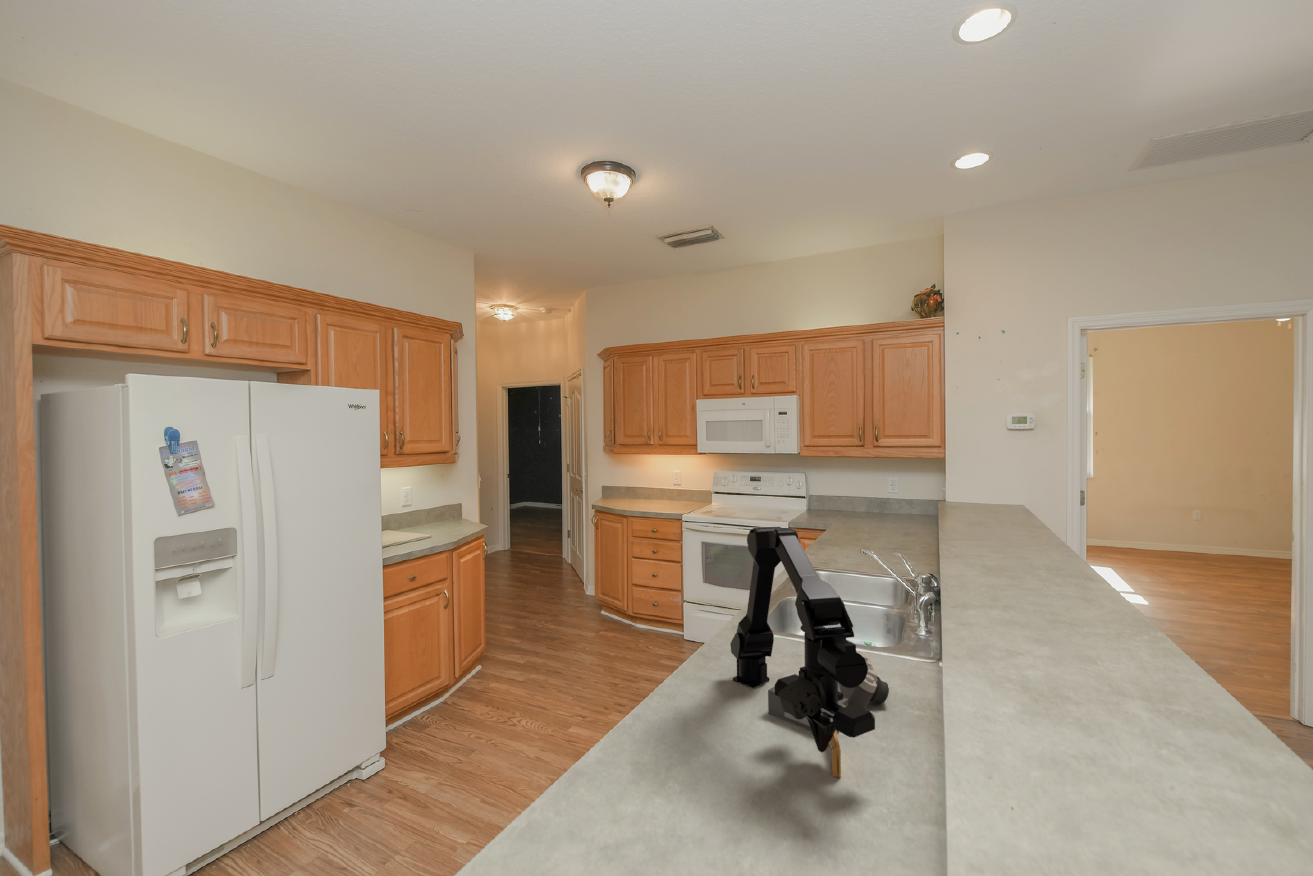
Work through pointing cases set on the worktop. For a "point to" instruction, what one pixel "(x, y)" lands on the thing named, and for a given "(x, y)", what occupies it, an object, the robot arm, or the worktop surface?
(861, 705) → the camera
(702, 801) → the worktop surface
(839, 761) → the brown rectangular block
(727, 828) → the worktop surface
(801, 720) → the case
